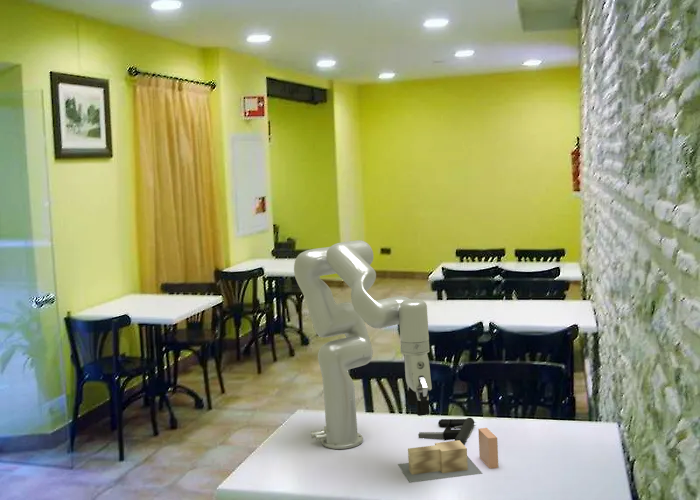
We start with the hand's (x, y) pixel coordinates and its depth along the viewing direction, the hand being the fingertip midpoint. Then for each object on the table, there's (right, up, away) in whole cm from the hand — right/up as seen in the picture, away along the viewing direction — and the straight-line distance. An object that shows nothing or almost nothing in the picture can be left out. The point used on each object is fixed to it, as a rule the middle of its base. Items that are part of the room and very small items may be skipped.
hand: (418, 409), depth 198 cm
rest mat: (+6, -17, +3) cm, 18 cm away
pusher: (+6, -17, +3) cm, 18 cm away
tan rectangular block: (+20, -16, +5) cm, 26 cm away
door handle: (+12, -15, +30) cm, 35 cm away
